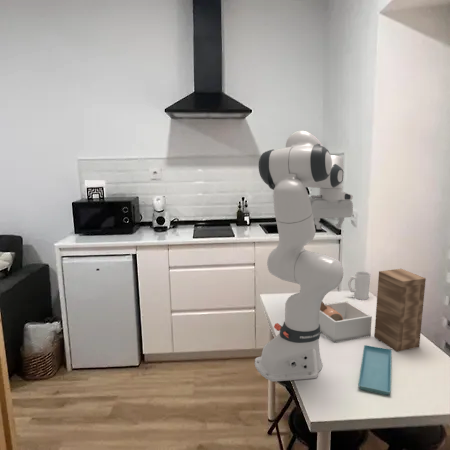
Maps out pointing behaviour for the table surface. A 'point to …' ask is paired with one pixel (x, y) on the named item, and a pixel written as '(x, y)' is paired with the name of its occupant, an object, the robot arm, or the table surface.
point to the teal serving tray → (376, 370)
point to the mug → (360, 285)
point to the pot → (331, 312)
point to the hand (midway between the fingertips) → (328, 228)
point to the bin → (345, 323)
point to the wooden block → (399, 309)
